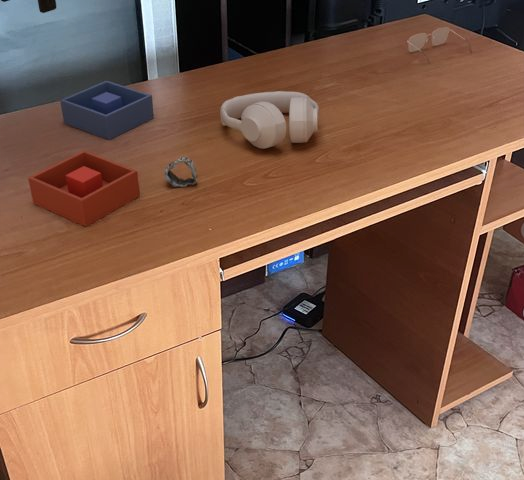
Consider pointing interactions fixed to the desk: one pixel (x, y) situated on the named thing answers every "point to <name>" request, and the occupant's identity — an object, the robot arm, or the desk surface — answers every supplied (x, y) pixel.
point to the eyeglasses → (436, 39)
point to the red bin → (93, 205)
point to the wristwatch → (178, 181)
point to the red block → (83, 181)
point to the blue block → (106, 103)
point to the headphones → (271, 117)
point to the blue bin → (115, 123)
